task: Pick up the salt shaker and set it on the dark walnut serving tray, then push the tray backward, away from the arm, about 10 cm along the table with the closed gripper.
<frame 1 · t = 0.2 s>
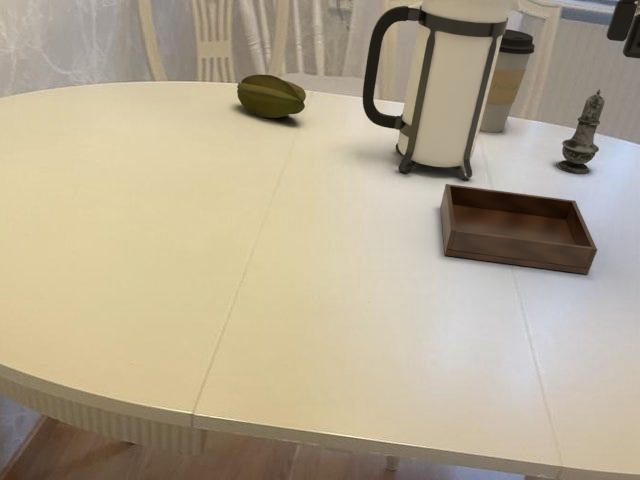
hand: (623, 48, 84), 24 cm above the table, tool pointing down, fingers open, 8 cm apart
coffee cup: (486, 128, 138), on the table
coffee press: (423, 166, 120), on the table
fruit: (268, 117, 132), on the table
salt shaker: (572, 169, 125), on the table
tray: (513, 226, 100), point 2 cm above the table, slide at 0.0 cm
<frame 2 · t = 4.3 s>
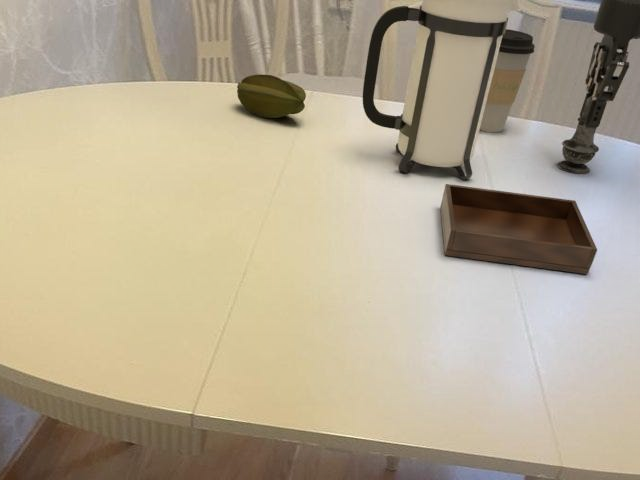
hand: (588, 122, 120), 7 cm above the table, tool pointing down, fingers closed on salt shaker, 3 cm apart
salt shaker: (572, 169, 125), on the table, touching gripper
everything else where it was.
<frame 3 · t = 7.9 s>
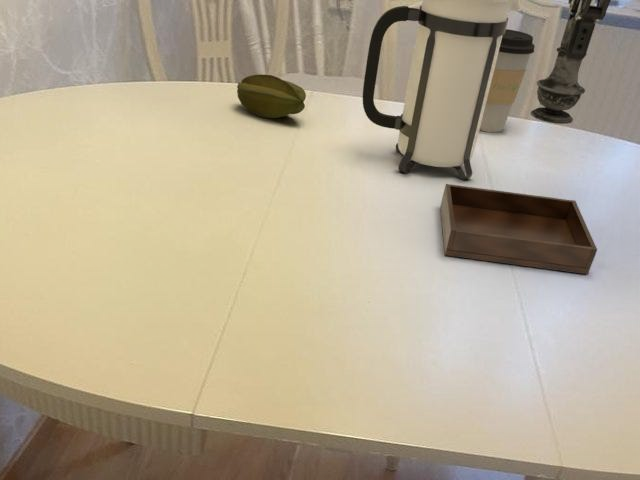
hand: (571, 53, 91), 21 cm above the table, tool pointing down, fingers closed on salt shaker, 3 cm apart
salt shaker: (550, 118, 95), point 14 cm above the table, touching gripper
everything else where it was.
when the fingers open (8 cm above the table, at t = 11.7 s): salt shaker stays where it is, resting on tray.
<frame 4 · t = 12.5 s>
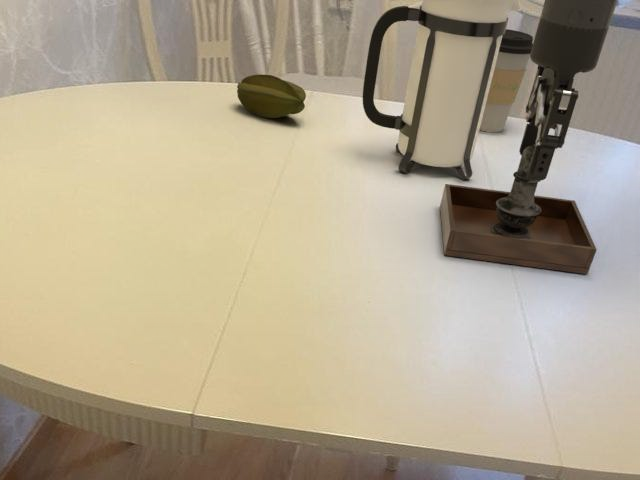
hand: (531, 166, 95), 10 cm above the table, tool pointing down, fingers open, 8 cm apart
salt shaker: (510, 234, 100), point 1 cm above the table, touching tray
tray: (512, 226, 100), point 2 cm above the table, slide at 0.1 cm, touching salt shaker
everything else where it was.
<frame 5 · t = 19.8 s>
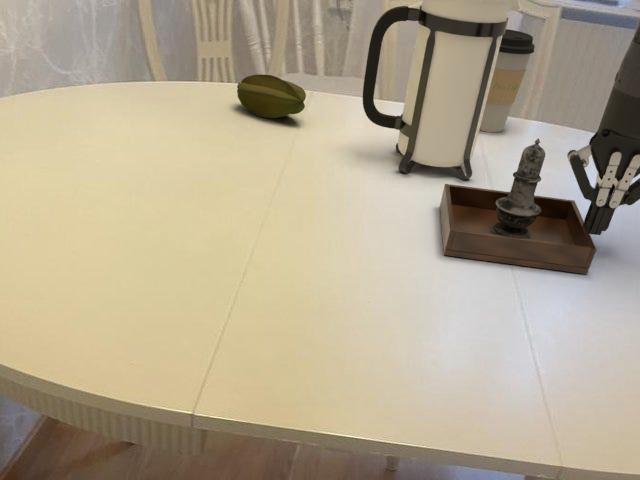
hand: (593, 232, 99), 2 cm above the table, tool pointing down, fingers closed
tray: (512, 226, 100), point 2 cm above the table, slide at 0.1 cm, touching gripper, salt shaker
everything else where it was.
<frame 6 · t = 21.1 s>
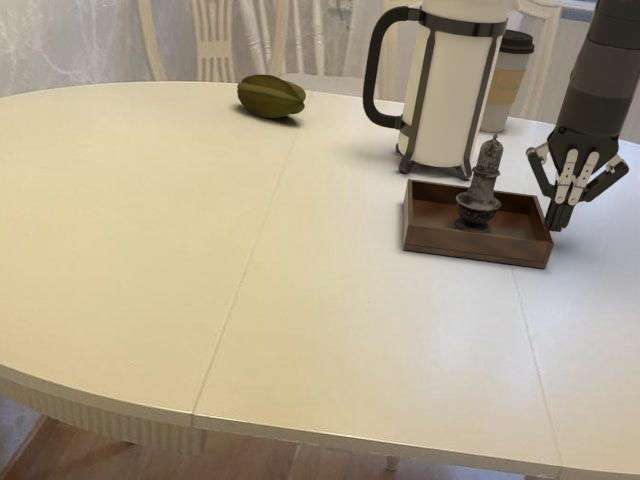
hand: (553, 229, 99), 2 cm above the table, tool pointing down, fingers closed
salt shaker: (471, 228, 101), point 1 cm above the table, touching tray
tray: (473, 221, 100), point 2 cm above the table, slide at 5.3 cm, touching gripper, salt shaker
everything else where it was.
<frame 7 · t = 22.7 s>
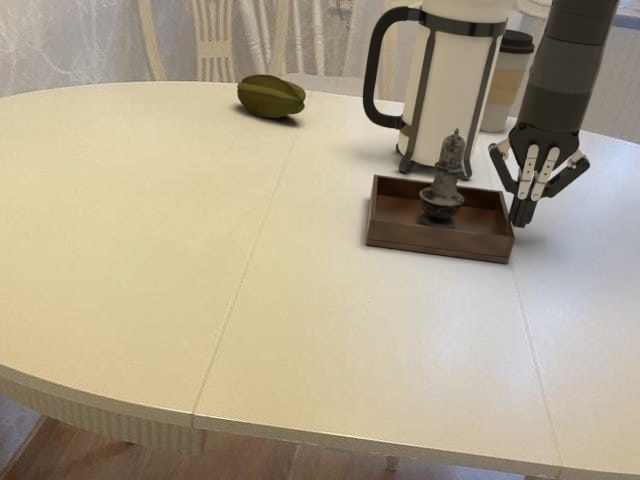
hand: (517, 225, 99), 2 cm above the table, tool pointing down, fingers closed
salt shaker: (435, 224, 101), point 1 cm above the table, touching tray
tray: (437, 216, 100), point 2 cm above the table, slide at 10.1 cm, touching gripper, salt shaker
everything else where it was.
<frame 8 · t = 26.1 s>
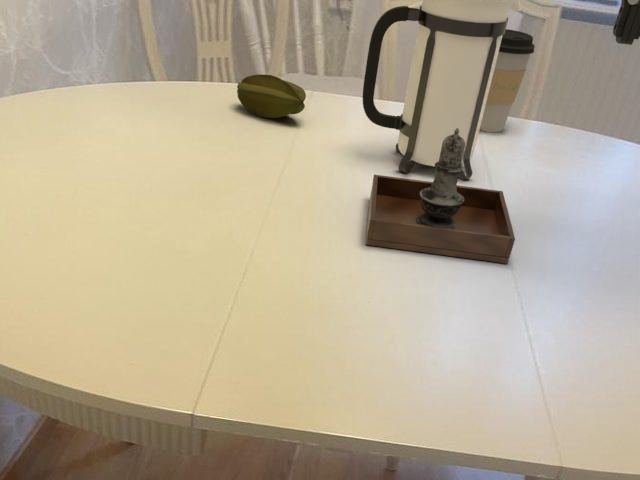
hand: (623, 42, 85), 24 cm above the table, tool pointing down, fingers closed
tray: (437, 216, 100), point 2 cm above the table, slide at 10.1 cm, touching salt shaker
everything else where it was.
at the end: tray slide at 10.1 cm; salt shaker inside the target area (1.0 cm from its centre), point 0.7 cm above the table; salt shaker tilted 0° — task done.
